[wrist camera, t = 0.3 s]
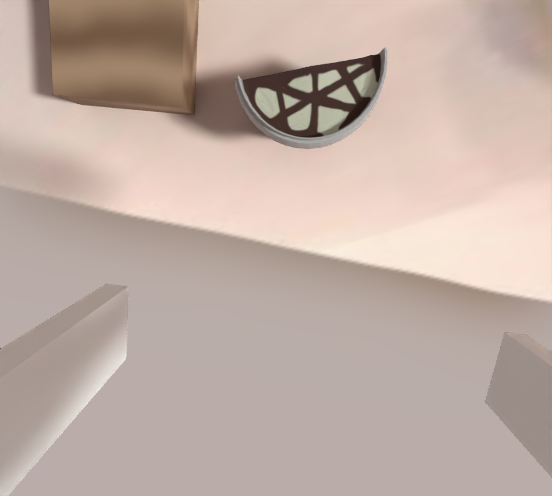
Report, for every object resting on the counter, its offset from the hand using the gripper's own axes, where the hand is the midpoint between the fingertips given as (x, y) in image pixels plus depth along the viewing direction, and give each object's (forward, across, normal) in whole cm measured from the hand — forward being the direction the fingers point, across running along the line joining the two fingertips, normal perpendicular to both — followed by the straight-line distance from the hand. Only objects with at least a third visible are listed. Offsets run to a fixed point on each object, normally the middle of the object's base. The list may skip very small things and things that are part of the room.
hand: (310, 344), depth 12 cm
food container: (+27, 0, +11) cm, 29 cm away
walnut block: (+28, -18, +16) cm, 37 cm away
